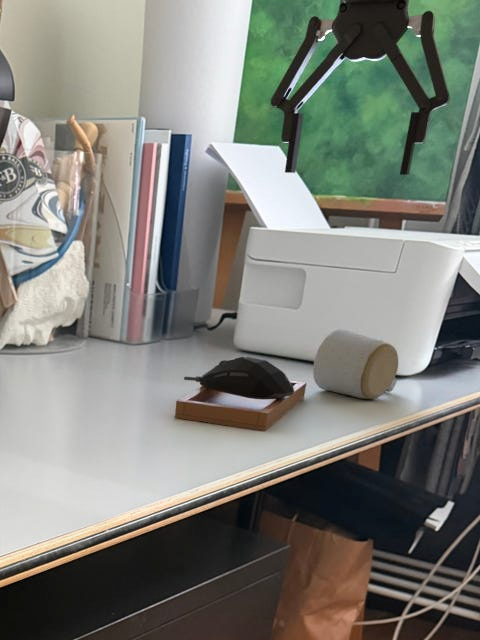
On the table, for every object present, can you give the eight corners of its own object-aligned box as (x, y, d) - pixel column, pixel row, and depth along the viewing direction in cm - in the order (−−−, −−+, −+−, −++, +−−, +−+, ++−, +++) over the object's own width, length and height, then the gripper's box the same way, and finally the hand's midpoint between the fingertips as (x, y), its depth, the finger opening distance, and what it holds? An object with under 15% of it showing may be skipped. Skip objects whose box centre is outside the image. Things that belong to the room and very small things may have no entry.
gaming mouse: (199, 376, 119) (203, 344, 117) (303, 397, 110) (308, 362, 108) (169, 383, 115) (172, 349, 114) (273, 405, 106) (279, 369, 104)
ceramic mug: (360, 404, 116) (374, 340, 113) (307, 391, 122) (318, 330, 119) (409, 396, 122) (424, 335, 119) (356, 384, 128) (368, 326, 124)
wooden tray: (303, 398, 119) (306, 382, 118) (265, 431, 103) (267, 413, 102) (223, 388, 123) (225, 372, 122) (174, 417, 108) (176, 400, 107)
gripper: (502, -38, 104) (457, 175, 113) (276, -23, 114) (252, 172, 123) (500, -51, 98) (453, 175, 107) (262, -34, 108) (238, 171, 117)
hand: (345, 174), depth 115 cm, fingers open, 13 cm apart
